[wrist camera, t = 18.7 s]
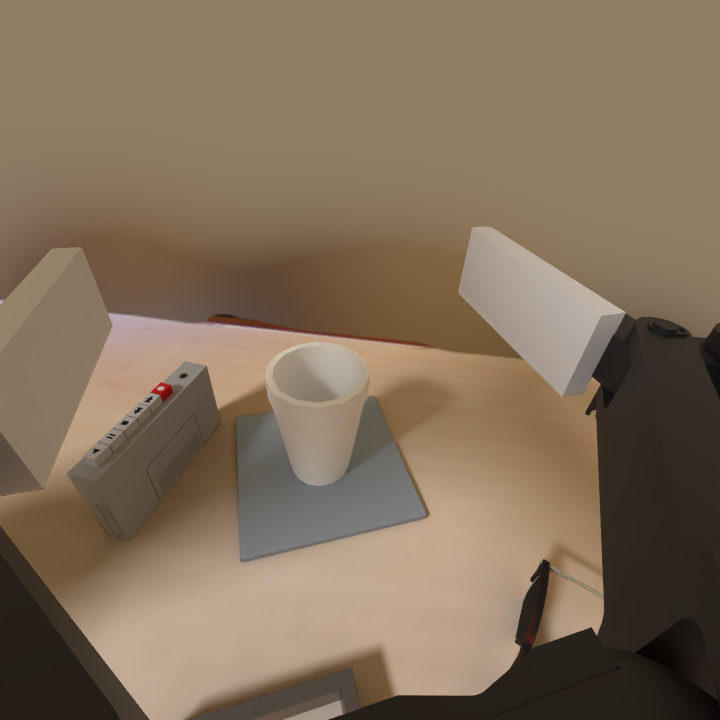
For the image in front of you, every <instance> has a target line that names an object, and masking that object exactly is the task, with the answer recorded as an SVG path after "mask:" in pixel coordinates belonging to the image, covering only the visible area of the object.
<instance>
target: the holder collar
mask: <svg viewBox="0 0 720 720" xmlns="http://www.w3.org/2000/svg"><path fill="white" fill-rule="evenodd" d="M339 700H341V705H342V710H343V714H346V713H349V712H352V711H355V710H358V709H360V704H359V700H358V695H357V690H356V685H355V680H354V675H353V671H352V668H349V669H345V670H342V671H339V672H336V673H333V674H330V675H327V676H324V677H321V678H318V679H314V680H311V681H308V682H305V683H302V684H299V685H296V686H293V687H290V688H287V689H284V690H280V691H277V692H274V693H271V694H268V695H265V696H262V697H259V698H256V699H253V700H250V701H246V702H243V703H240V704H237V705H234V706H231V707H228V708H225V709H222V710H219V711H216V712H212V713H209V714H206V715H203V716H200V717H197V718H194V719H191V720H283V719H286V718H289V717H292V716H295V715H298V714H300V713H303V712H306V711H309V710H312V709H315V708H318V707H321V706H324V705H327V704H330V703H333V702H336V701H339Z"/></svg>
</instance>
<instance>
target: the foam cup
mask: <svg viewBox="0 0 720 720" xmlns="http://www.w3.org/2000/svg"><path fill="white" fill-rule="evenodd" d="M265 382H266V389H267V396H268V400H269V402H270V404H271V406H272V407H273V410H274V413H275V416H276V419H277V423H278V426H279V429H280V432H281V435H282V438H283V441H284V445H285V448H286V451H287V454H288V457H289V460H290V464H291V466H292V469H293V471H294V473H295V474H296V476H297V478H298V479H300V480H302V481H303V482H305V483H306V484H309V485H316V486H324V485H328V484H332V483H334V482H336V481H337V480H338V479H340V478H341V477H342V476H344V474H345V472H346V470H347V468H348V464H349V462H350V458H351V454H352V450H353V446H354V442H355V438H356V434H357V430H358V426H359V422H360V418H361V414H362V410H363V405H364V403H365V401H366V399H367V397H368V388H369V373H368V367H367V363H366V362H365V361H364V360H363V359H362V358H361V357H360V356H359V355H358V354H357V353H356V352H355V351H353V350H351V349H348V348H346V347H344V346H341V345H339V344H332V343H323V342H314V343H307V344H300V345H296V346H294V347H291V348H289V349H287V350H285V351H282V352H280V353H279V354H278V355H277V356H276V357H275V358H274V359H273V360H272V361H271V362H270V363H269V364H268V366H267V372H266V379H265Z"/></svg>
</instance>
